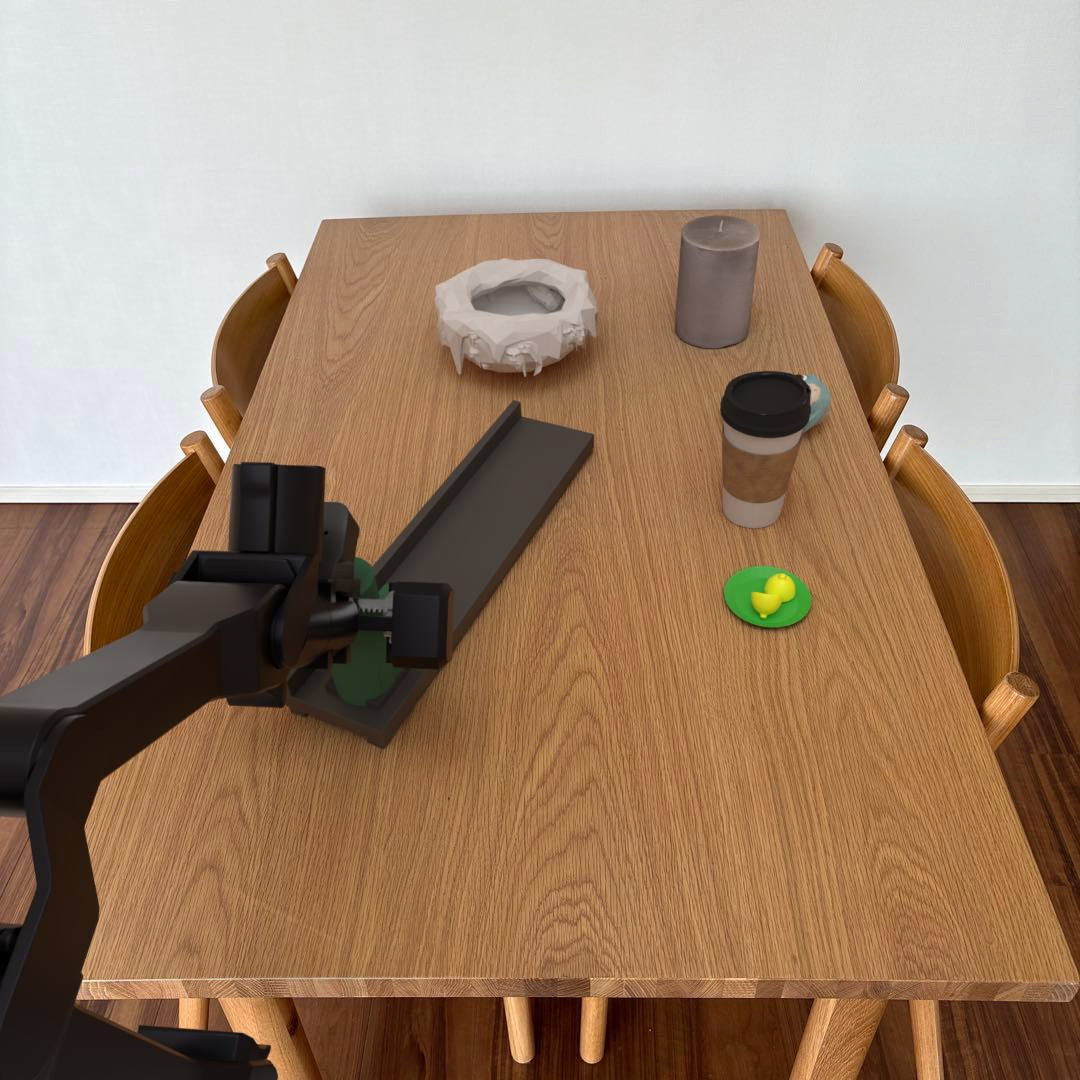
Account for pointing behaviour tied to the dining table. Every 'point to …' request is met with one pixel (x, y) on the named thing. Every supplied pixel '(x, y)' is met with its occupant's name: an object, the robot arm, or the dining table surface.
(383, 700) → the green cylinder on block
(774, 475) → the coffee cup
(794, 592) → the green flat round tray
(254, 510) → the robot arm
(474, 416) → the dining table surface
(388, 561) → the shoe shelf
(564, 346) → the bowl
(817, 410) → the stuffed animal
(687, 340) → the pillar candle
